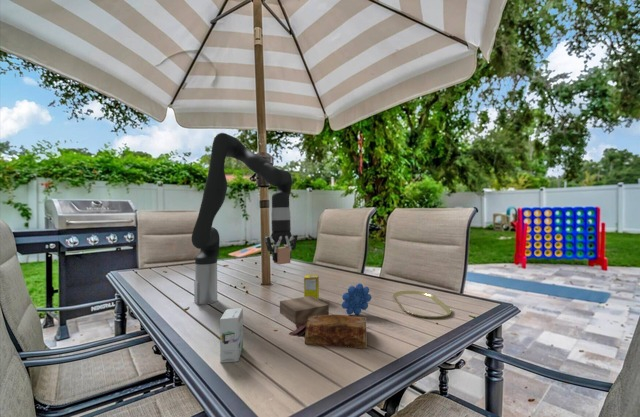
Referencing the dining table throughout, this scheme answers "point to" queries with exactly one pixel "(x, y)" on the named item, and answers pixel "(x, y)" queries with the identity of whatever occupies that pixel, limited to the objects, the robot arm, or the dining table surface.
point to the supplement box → (311, 286)
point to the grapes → (356, 299)
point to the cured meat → (334, 331)
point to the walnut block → (303, 308)
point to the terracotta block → (283, 255)
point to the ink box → (231, 335)
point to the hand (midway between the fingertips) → (282, 261)
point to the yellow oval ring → (427, 296)
